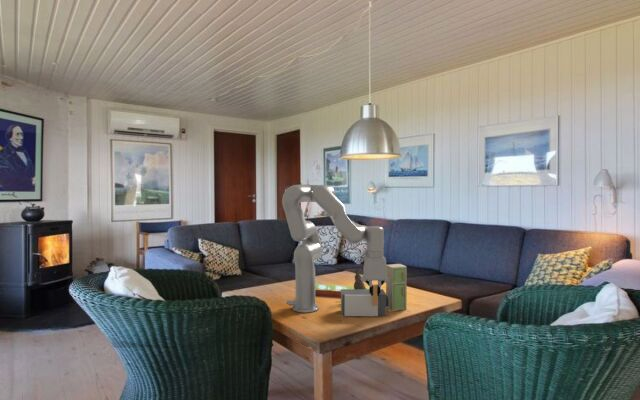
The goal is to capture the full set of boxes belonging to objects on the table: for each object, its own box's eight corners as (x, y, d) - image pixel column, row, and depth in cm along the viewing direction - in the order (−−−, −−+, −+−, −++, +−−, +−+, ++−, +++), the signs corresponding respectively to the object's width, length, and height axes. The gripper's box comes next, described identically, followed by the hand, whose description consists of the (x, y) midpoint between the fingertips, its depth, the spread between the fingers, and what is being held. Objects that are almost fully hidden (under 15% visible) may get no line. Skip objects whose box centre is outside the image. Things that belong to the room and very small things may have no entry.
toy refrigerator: (392, 311, 189) (392, 267, 188) (385, 307, 196) (385, 264, 195) (407, 310, 191) (407, 266, 190) (400, 305, 198) (400, 263, 198)
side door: (344, 317, 179) (344, 285, 178) (344, 315, 182) (344, 283, 182) (378, 317, 178) (378, 285, 178) (377, 315, 182) (377, 283, 181)
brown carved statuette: (352, 305, 208) (347, 270, 210) (360, 303, 211) (355, 268, 213) (366, 306, 198) (361, 269, 200) (375, 304, 201) (369, 268, 203)
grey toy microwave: (342, 316, 182) (342, 293, 182) (340, 310, 191) (341, 288, 191) (389, 316, 183) (389, 293, 182) (385, 309, 192) (385, 287, 191)
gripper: (357, 255, 175) (357, 297, 176) (394, 255, 175) (394, 297, 175) (356, 252, 183) (356, 292, 183) (391, 252, 182) (391, 292, 183)
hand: (374, 294), depth 179 cm, fingers closed on side door, 2 cm apart
